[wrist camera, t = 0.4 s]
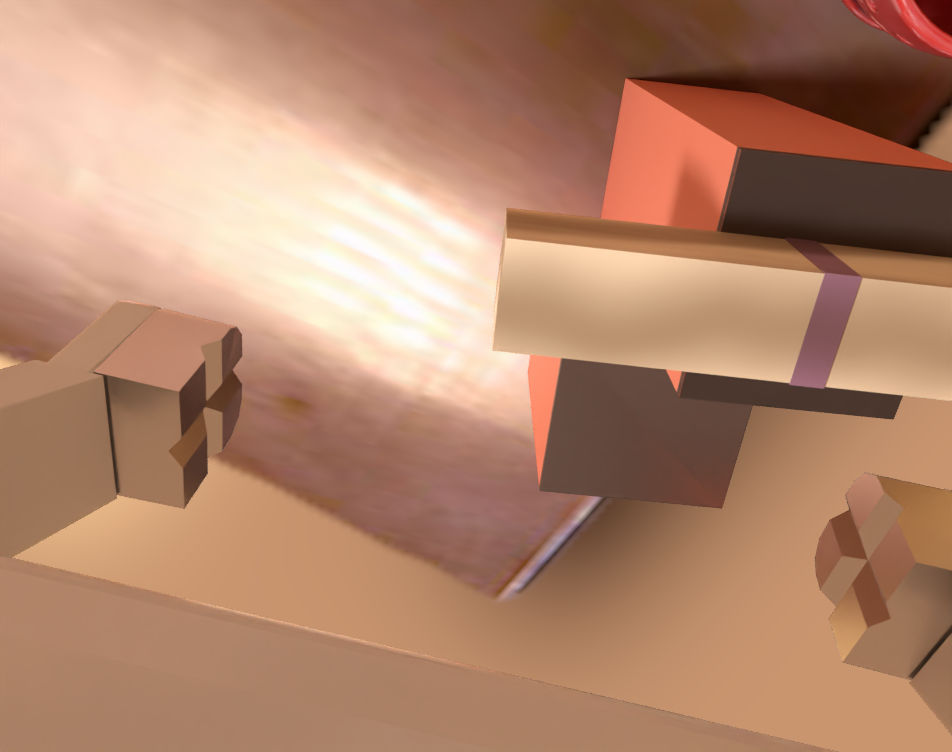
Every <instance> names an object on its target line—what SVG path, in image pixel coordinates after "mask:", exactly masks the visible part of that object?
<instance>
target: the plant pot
mask: <svg viewBox="0 0 952 752" xmlns="http://www.w3.org/2000/svg"><path fill="white" fill-rule="evenodd" d="M842 2H843V3H844V4H845V6H846V7H847V8H848V9H849V10H850V11H851V12H852V13H853V14H854V15H855V16H856V17H857V18H859V19H860V20H861V21H863V22H864V23H866V24H868V25H870V26H872V27H874V28H877V29H879V30H882V31H886V32H887V33H889V34H890V35H891V36H893V37H894V38H896V39H897V40H899V41H901V42H902V43H904V44H906V45H908V46H910V47H912V48H915V49H917V50H920V51H923V52H927V53H930V54H933V55H937V56H940V57H944V58H950V59H952V0H842Z"/></svg>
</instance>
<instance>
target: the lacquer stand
mask: <svg viewBox="0 0 952 752" xmlns="http://www.w3.org/2000/svg"><path fill="white" fill-rule="evenodd" d="M601 219H610V220H619V221H628V222H637V223H646V224H655V225H664V226H673V227H681V228H690V229H699V230H708V231H717V232H726V233H735V234H744V235H753V236H761V237H770V238H779V239H784V238H794V239H803V240H812V241H817V242H819V243H824V244H832V245H841V246H850V247H859V248H868V249H877V250H886V251H895V252H904V253H912V254H921V255H930V256H939V257H948V258H952V163H950V162H947V161H944V160H941V159H938V158H936V157H933V156H930V155H928V154H925V153H922V152H919V151H917V150H914V149H911V148H908V147H906V146H903V145H900V144H897V143H895V142H892V141H889V140H886V139H884V138H881V137H878V136H875V135H873V134H870V133H867V132H864V131H862V130H859V129H856V128H853V127H851V126H848V125H845V124H842V123H840V122H837V121H834V120H831V119H829V118H826V117H823V116H820V115H818V114H815V113H812V112H809V111H807V110H804V109H801V108H798V107H796V106H793V105H790V104H788V103H785V102H782V101H779V100H777V99H774V98H771V97H768V96H766V95H763V94H759V93H750V92H741V91H732V90H724V89H715V88H706V87H697V86H688V85H680V84H671V83H662V82H653V81H645V80H636V79H627V78H626V79H625V85H624V90H623V96H622V101H621V107H620V113H619V118H618V124H617V129H616V135H615V141H614V146H613V152H612V157H611V163H610V169H609V174H608V180H607V185H606V191H605V197H604V202H603V208H602V213H601ZM528 380H529V390H530V400H531V410H532V420H533V430H534V439H535V449H536V459H537V469H538V479H539V489H540V491H546V492H556V493H567V494H577V495H587V496H598V497H608V498H618V499H630V500H640V501H650V502H661V503H670V504H681V505H691V506H702V507H713V508H722V507H723V504H724V500H725V497H726V493H727V490H728V487H729V484H730V480H731V477H732V473H733V470H734V467H735V463H736V460H737V457H738V453H739V450H740V447H741V443H742V440H743V437H744V433H745V430H746V427H747V423H748V420H749V417H750V413H751V410H752V406H753V405H755V406H765V407H775V408H786V409H795V410H805V411H815V412H824V413H834V414H845V415H855V416H865V417H875V418H884V419H894V417H895V414H896V412H897V409H898V407H899V404H900V401H901V399H902V397H903V395H894V394H885V393H876V392H867V391H857V390H848V389H839V388H830V387H824V389H822V388H813V387H803V386H794V385H790V384H789V383H784V382H775V381H766V380H757V379H748V378H739V377H730V376H721V375H712V374H702V373H693V372H684V371H675V370H666V369H657V368H648V367H639V366H630V365H620V364H611V363H602V362H593V361H584V360H575V359H566V358H557V357H548V356H538V355H530V361H529V368H528Z"/></svg>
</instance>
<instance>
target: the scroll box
mask: <svg viewBox="0 0 952 752" xmlns="http://www.w3.org/2000/svg"><path fill="white" fill-rule="evenodd" d="M493 351H502V352H511V353H520V354H529V355H538V356H548V357H557V358H566V359H575V360H584V361H593V362H602V363H611V364H620V365H630V366H639V367H648V368H657V369H666V370H675V371H684V372H693V373H702V374H712V375H721V376H730V377H739V378H748V379H757V380H766V381H775V382H784V383H789V384H790V385H794V386H803V387H813V388H822V389H824V387H830V388H839V389H848V390H857V391H867V392H876V393H885V394H894V395H903V396H912V397H921V398H930V399H939V400H949V401H952V258H948V257H939V256H930V255H921V254H912V253H904V252H895V251H886V250H877V249H868V248H859V247H850V246H841V245H832V244H824V243H819V242H817V241H812V240H803V239H794V238H784V239H779V238H770V237H761V236H753V235H744V234H735V233H726V232H717V231H708V230H699V229H690V228H681V227H673V226H664V225H655V224H646V223H637V222H628V221H619V220H610V219H601V218H593V217H584V216H575V215H566V214H557V213H548V212H539V211H530V210H521V209H513V208H506V215H505V224H504V232H503V240H502V248H501V256H500V264H499V272H498V281H497V289H496V297H495V305H494V323H493Z"/></svg>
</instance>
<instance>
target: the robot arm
mask: <svg viewBox="0 0 952 752" xmlns="http://www.w3.org/2000/svg"><path fill="white" fill-rule="evenodd" d="M241 357H242V334H241V333H240V331H239V329H238V328H237V327H235V326H231V325H227V324H223V323H219V322H216V321H212V320H208V319H204V318H200V317H196V316H192V315H188V314H184V313H180V312H176V311H172V310H168V309H161V308H159V307H156V306H152V305H147V304H143V303H138V302H134V301H129V300H121V301H117V302H115V303H114V304H113V305H112V306H111V307H109V308H108V309H107V310H106V311H105V312H104V313H103V314H101V315H100V316H99V317H98V318H97V319H96V320H95V321H94V322H92V323H91V324H90V325H89V326H88V327H87V328H86V329H84V330H83V331H82V332H81V333H80V334H79V335H78V336H77V337H75V338H74V339H73V340H72V341H71V342H70V343H69V344H67V345H66V346H65V347H64V348H63V349H62V350H61V351H60V352H58V353H57V354H56V355H55V356H54V357H53V358H52V359H50V360H49V361H48V362H43V361H38V360H32V361H29V362H25V363H21V364H18V365H14V366H11V367H7V368H3V369H0V752H837V751H833V750H829V749H825V748H820V747H816V746H812V745H807V744H804V743H799V742H795V741H791V740H787V739H783V738H778V737H774V736H770V735H765V734H761V733H757V732H753V731H749V730H745V729H740V728H736V727H731V726H728V725H723V724H719V723H715V722H710V721H706V720H702V719H698V718H694V717H690V716H685V715H681V714H677V713H673V712H669V711H664V710H660V709H656V708H652V707H647V706H643V705H639V704H635V703H630V702H626V701H621V700H617V699H613V698H609V697H605V696H600V695H596V694H592V693H587V692H583V691H579V690H575V689H570V688H566V687H561V686H557V685H553V684H549V683H545V682H540V681H536V680H532V679H528V678H523V677H519V676H515V675H510V674H506V673H501V672H497V671H493V670H489V669H485V668H480V667H476V666H471V665H468V664H463V663H459V662H454V661H451V660H446V659H442V658H437V657H433V656H429V655H425V654H420V653H416V652H412V651H407V650H403V649H399V648H395V647H391V646H386V645H382V644H378V643H373V642H369V641H365V640H361V639H356V638H352V637H348V636H344V635H339V634H335V633H331V632H326V631H322V630H318V629H314V628H309V627H305V626H301V625H297V624H292V623H288V622H284V621H280V620H275V619H270V618H267V617H263V616H258V615H254V614H250V613H245V612H241V611H237V610H233V609H228V608H224V607H220V606H216V605H211V604H207V603H203V602H199V601H194V600H189V599H186V598H182V597H177V596H172V595H169V594H164V593H160V592H156V591H152V590H147V589H143V588H139V587H135V586H130V585H126V584H122V583H118V582H113V581H109V580H105V579H100V578H96V577H92V576H88V575H83V574H79V573H75V572H71V571H66V570H62V569H58V568H53V567H49V566H45V565H41V564H37V563H32V562H28V561H24V560H19V559H15V558H12V557H13V556H15V555H17V554H19V553H21V552H22V551H24V550H26V549H28V548H30V547H31V546H33V545H35V544H37V543H38V542H40V541H42V540H44V539H46V538H47V537H49V536H51V535H53V534H54V533H56V532H58V531H60V530H61V529H63V528H65V527H67V526H69V525H70V524H72V523H74V522H76V521H78V520H79V519H81V518H82V517H85V516H87V515H88V514H90V513H92V512H93V511H95V510H97V509H99V508H101V507H103V506H104V505H106V504H108V503H109V502H111V501H113V500H115V499H116V498H117V495H120V496H125V497H129V498H135V499H139V500H145V501H149V502H154V503H159V504H164V505H168V506H173V507H178V508H183V509H185V507H186V506H187V504H188V503H189V501H190V500H191V498H192V497H193V495H194V493H195V492H196V490H197V489H198V487H199V486H200V484H201V483H202V481H203V480H204V478H205V477H206V475H207V474H208V457H210V456H212V455H215V454H217V453H219V452H221V451H223V449H224V448H225V446H226V444H227V443H228V441H229V439H230V438H231V436H232V433H233V431H234V428H235V425H236V422H237V420H238V417H239V411H240V405H241V399H242V383H241V382H240V380H239V379H238V378H237V376H236V375H235V373H234V372H233V370H232V369H233V368H234V367H235V365H236V364H237V363H238V361H239V360H240V358H241ZM845 496H846V500H847V504H848V507H849V510H848V511H846V512H845V513H842V514H840V515H838V516H837V517H835V518H832V519H831V520H829V522H828V524H827V526H826V528H825V529H824V531H823V533H822V535H821V536H820V538H819V542H818V547H817V552H816V556H815V568H816V577H817V580H818V584H819V587H820V590H821V591H822V592H823V593H824V594H825V595H826V596H827V598H829V600H830V601H831V602H832V603H833V604H834V605H835V606H836V608H835V609H834V611H833V612H832V614H831V615H830V617H829V621H830V624H831V627H832V631H833V633H834V637H835V640H836V643H837V647H838V650H839V653H840V656H841V660H842V662H843V663H847V664H851V665H855V666H858V667H862V668H866V669H870V670H874V671H878V672H881V673H885V674H889V675H893V676H897V677H901V678H905V679H908V680H911V682H910V684H911V685H912V687H913V688H914V689H915V690H916V692H917V693H918V694H919V695H920V697H921V698H922V699H923V700H924V702H925V703H926V704H927V705H928V706H929V708H930V709H931V710H932V711H933V713H934V714H935V715H936V716H937V718H938V719H939V720H940V721H941V722H942V724H943V725H944V726H945V727H946V729H947V730H948V731H949V732H950V734H951V735H952V490H948V489H939V488H935V487H930V486H925V485H920V484H916V483H911V482H906V481H902V480H897V479H893V478H888V477H883V476H879V475H874V474H870V473H863V474H862V475H861V476H860V477H858V478H857V479H856V480H855V481H854V482H853V484H852V485H851V487H850V488H849V490H848V492H847V493H846V495H845Z"/></svg>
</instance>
